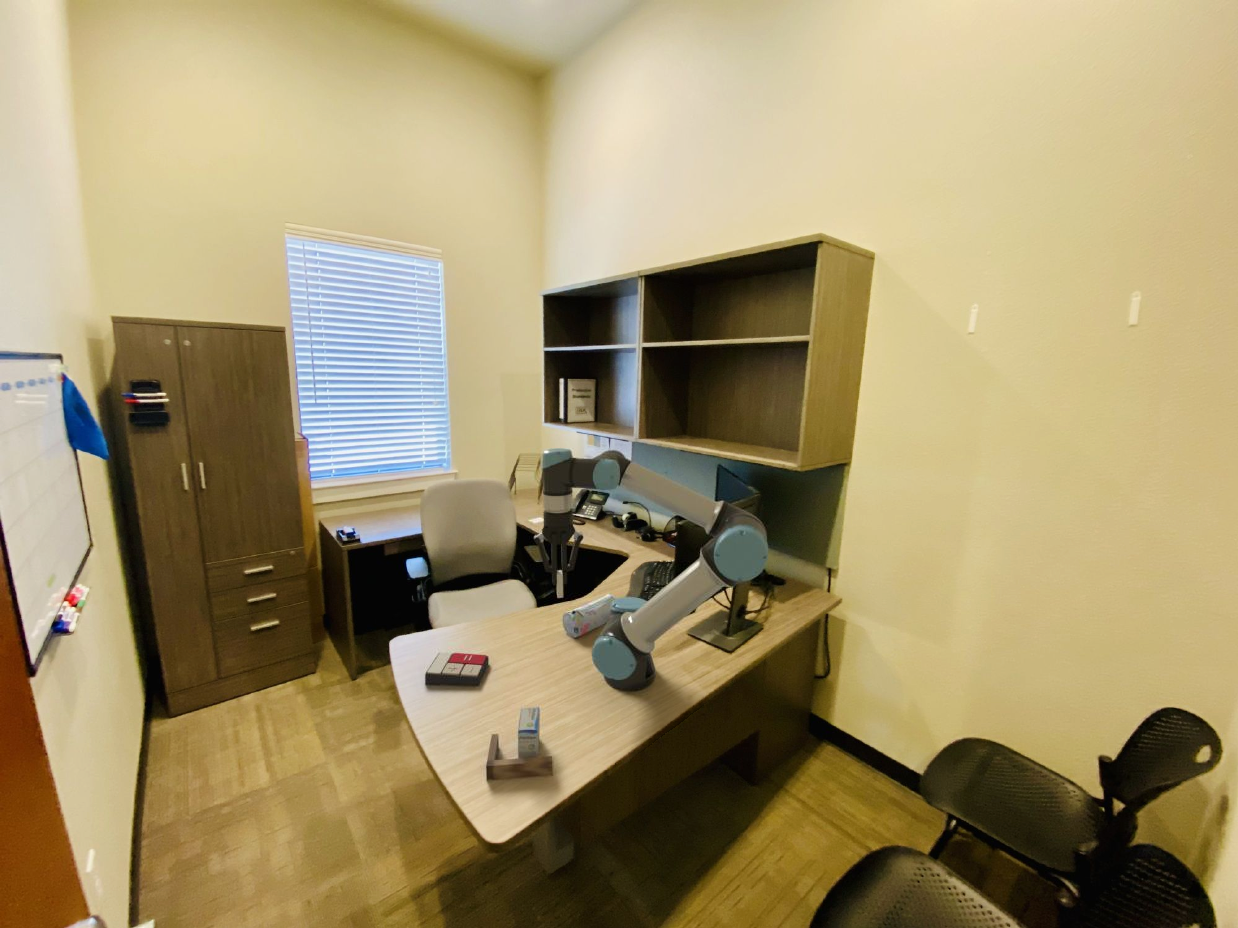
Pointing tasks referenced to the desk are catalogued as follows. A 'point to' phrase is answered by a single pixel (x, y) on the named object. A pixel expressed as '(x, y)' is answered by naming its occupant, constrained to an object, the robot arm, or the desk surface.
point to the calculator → (457, 669)
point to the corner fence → (515, 765)
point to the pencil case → (588, 616)
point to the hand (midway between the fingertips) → (560, 595)
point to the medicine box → (528, 732)
